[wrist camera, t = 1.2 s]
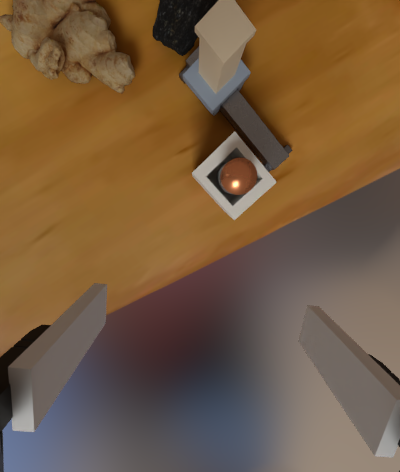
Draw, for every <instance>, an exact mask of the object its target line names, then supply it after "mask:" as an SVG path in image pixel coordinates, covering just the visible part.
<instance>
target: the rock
mask: <svg viewBox="0 0 400 472" xmlns="http://www.w3.org/2000/svg"><path fill="white" fill-rule="evenodd" d="M217 1H218V0H160V4H159V9H158V13H157V18H156V21H155V24H154V26H153V37H154V38H155V39H156V40H158V41H161V42H162V43H163V45H164V46H167V47H169V48H171V49H173V50H175V51H176V52H177V53H178V54H180V55H182V56H183V55H185V54H186V53H187V52H188V51H189V50H190V49H191V48H192V47H193V46H194V43H195V40H196V39H197V37H198V35H197V34H196V33H195V26H196V24H197V23H198V22H199V21H200V20H201V19H202V18H203V17H204V16H205V15H206V14H207V12H208V11H209V10H210V9H211V8H212V7H213V6H214V5H215V3H216V2H217Z"/></svg>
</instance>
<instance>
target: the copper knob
mask: <svg viewBox="0 0 400 472" xmlns="http://www.w3.org/2000/svg"><path fill="white" fill-rule="evenodd" d="M216 181H217V185H218V187H219V188H220V189H221V190H222V191H224V192H226V193H230V194H235V195H242V194H246V193H248V192H249V191H250V190H251V189H252V188H253V187H254V186H255V184H256V181H257V170H256V167H255V165H254V164H253V163H252V162H251V161H250V160H248V159H246V158H241V157H240V158H234V159H232V160H230V161H229V162H227V163H226V164H225V165H223V166H222V167H221V168H220V169H219V170H218V172H217V176H216Z"/></svg>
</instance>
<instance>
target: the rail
mask: <svg viewBox="0 0 400 472" xmlns="http://www.w3.org/2000/svg"><path fill="white" fill-rule="evenodd" d="M198 58H199V47H198V48H197V49H196V50H195V51H194V52H193V53H192V54H191V55H190V56H189V58H188V59H187V60H186V68H185V69H184V70H183V71H182V72H181V73H180V74H179V78H180V79H181V80H182V81H183V82H184V84H185V81H184V80H183V74H184V73H185V72H186V71H187V70H188V69H189V68H190V67H191V66H192V64H193V63H194V62H195V61H196V60H197V59H198ZM219 110H220V111H221V113H222V114H223V115H224V116H225V117H226V119H227V120H228V121H229V122H230V124H231V125H232V126H233V127H234V128H235V130H236V131H237V132H238V133H239V135H240V136H241V137H242V138H243V139H244V141H245V142H246V143H247V144H248V146H249V147H250V148H251V149H252V150H253V152H254V153H255V154H256V155H257V156H258V158H259V159H260V160H261V161H262V163H263V164H264V167H265V169H266V170H267V171H268V172H269V171H270V170H274V169H275V168H277V167H278V166H279V165H280V164H281V163H282V162H283V161H284V160H285V159H286V158H288V157H289V155H288V154H289V153H290V152H291V151H292V149H291V148H290V147H289V146H288V145H286V146H285V147H284V148H283V147H282V146H281V144H280V143H279V142H278V141H277V139H276V138H275V137H274V135H273V134H272V133H271V132H270V130H269V129H268V128H267V127H266V125H265V124H264V123H263V122H262V120H261V119H260V118H259V116H258V115H257V114H256V113H255V111H254V110H253V109H252V108H251V106H250V105H249V104H248V102H247V101H246V100H245V99H244V97H243V96H242V95H241V94H240V92H239V91H238V90H236V91H235V92H234V93H233V94H232V95H231V96H230V97H229V98H228V99H227V100H226V101H225V102H224V103H223V104H222V105H221V106H220V109H219Z"/></svg>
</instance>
